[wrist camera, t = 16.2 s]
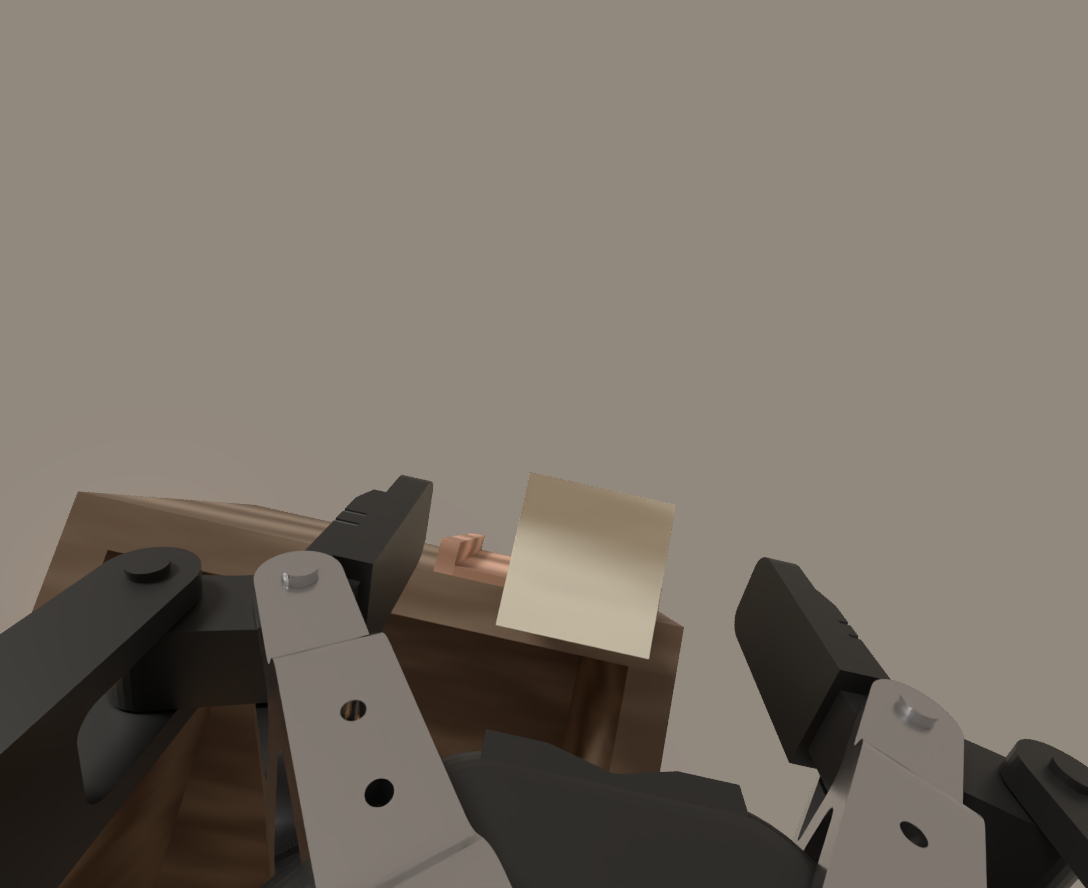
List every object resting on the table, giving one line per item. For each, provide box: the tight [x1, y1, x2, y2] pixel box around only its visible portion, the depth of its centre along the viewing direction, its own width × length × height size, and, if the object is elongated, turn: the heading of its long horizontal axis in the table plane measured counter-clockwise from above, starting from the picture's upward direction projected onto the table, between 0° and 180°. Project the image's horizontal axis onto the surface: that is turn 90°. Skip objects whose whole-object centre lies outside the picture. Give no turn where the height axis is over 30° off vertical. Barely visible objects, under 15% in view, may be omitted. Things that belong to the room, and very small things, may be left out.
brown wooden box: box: [32, 492, 684, 888], centre depth 25 cm, size 14×26×33 cm, turn 93°
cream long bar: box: [496, 472, 676, 659], centre depth 23 cm, size 24×4×4 cm, turn 3°
